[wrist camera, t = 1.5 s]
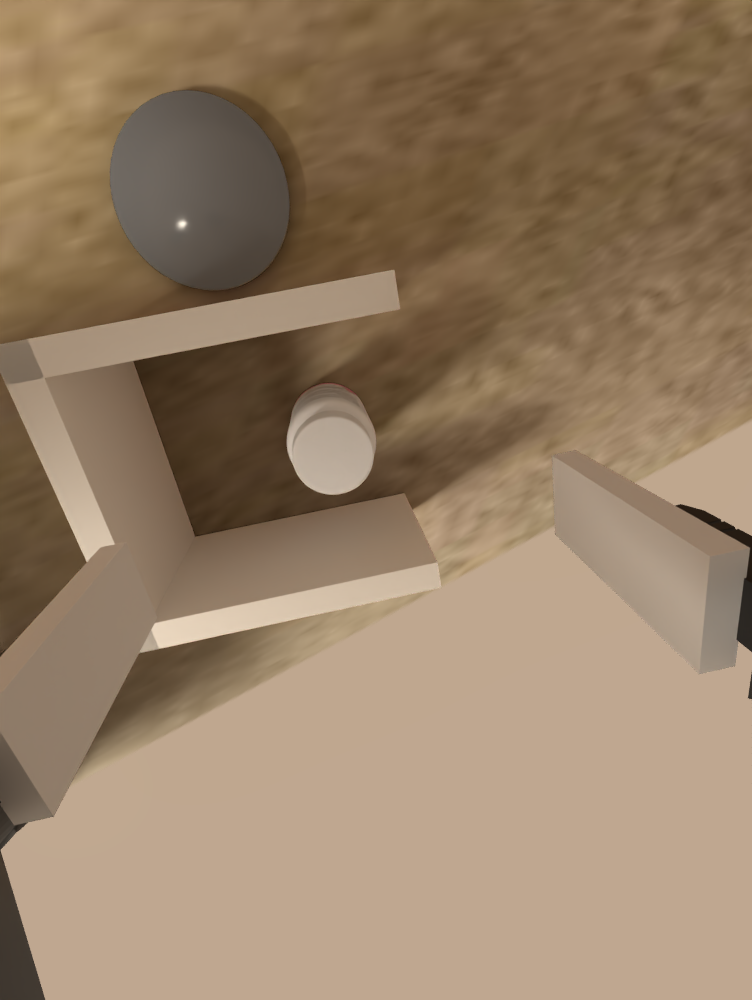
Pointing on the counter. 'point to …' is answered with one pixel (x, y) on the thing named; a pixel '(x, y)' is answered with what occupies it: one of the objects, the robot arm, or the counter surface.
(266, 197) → the coaster
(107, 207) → the counter surface
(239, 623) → the cubby
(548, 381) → the counter surface
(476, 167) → the counter surface
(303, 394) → the pill bottle
